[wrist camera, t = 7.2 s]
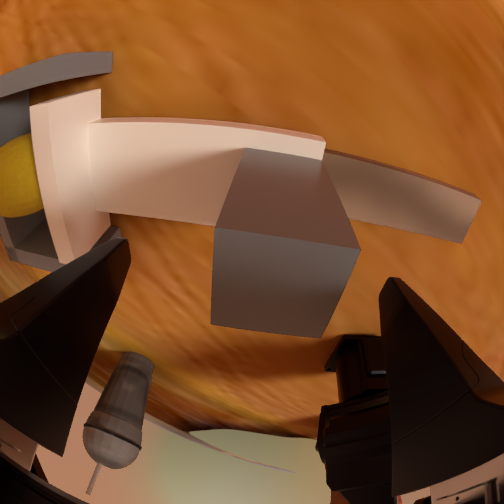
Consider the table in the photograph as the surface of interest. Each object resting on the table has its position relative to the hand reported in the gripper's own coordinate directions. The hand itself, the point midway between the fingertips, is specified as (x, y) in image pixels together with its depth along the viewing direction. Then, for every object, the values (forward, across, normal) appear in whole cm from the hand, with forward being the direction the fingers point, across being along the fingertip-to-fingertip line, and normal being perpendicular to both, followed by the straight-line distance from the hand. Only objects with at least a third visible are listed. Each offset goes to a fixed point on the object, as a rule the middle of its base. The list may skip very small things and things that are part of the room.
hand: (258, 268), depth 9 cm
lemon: (+9, +14, 0) cm, 17 cm away
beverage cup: (+10, +13, +27) cm, 32 cm away
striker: (+9, +5, 0) cm, 10 cm away
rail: (+10, -8, 0) cm, 13 cm away
